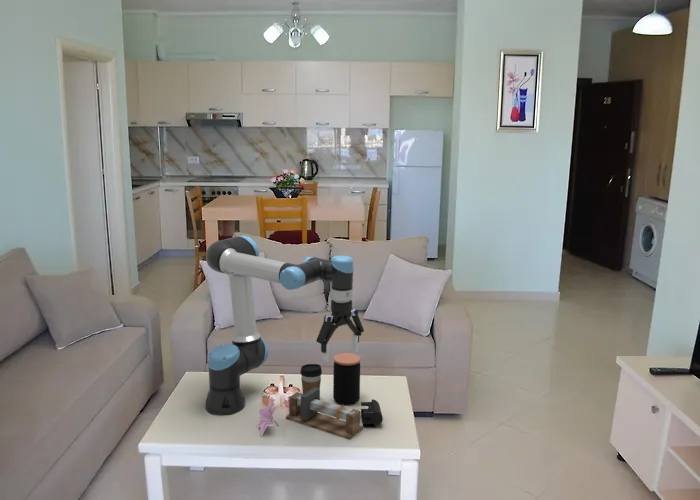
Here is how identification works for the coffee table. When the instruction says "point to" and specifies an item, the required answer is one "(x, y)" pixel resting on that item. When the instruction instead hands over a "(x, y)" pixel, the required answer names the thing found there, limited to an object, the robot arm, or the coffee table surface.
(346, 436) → the pipe stand
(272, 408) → the lily
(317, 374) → the coffee cup
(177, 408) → the coffee table surface
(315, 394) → the collar
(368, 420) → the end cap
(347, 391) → the coffee jar
